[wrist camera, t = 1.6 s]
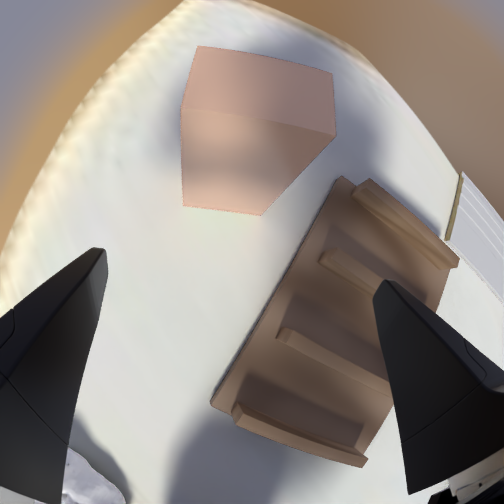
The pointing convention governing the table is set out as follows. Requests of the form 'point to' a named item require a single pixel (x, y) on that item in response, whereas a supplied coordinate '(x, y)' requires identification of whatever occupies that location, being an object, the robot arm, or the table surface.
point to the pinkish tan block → (250, 128)
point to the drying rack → (333, 327)
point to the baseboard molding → (478, 235)
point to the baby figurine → (86, 484)
